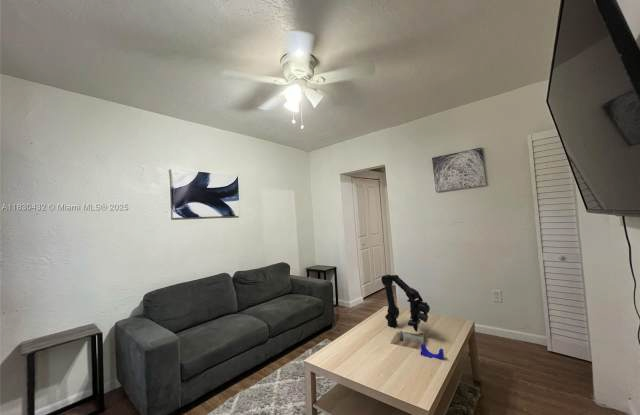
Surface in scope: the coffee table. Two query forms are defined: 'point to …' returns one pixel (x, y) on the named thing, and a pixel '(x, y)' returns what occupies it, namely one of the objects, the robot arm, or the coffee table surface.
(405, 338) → the steel leaf
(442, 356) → the cable clip
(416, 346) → the hinge board
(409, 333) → the block
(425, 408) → the coffee table surface
